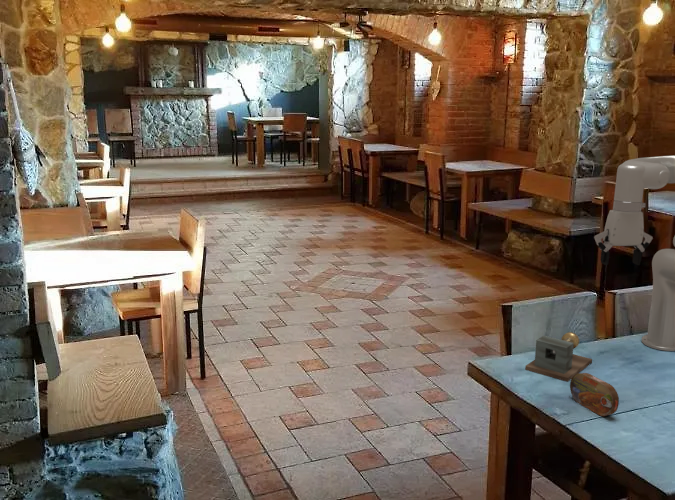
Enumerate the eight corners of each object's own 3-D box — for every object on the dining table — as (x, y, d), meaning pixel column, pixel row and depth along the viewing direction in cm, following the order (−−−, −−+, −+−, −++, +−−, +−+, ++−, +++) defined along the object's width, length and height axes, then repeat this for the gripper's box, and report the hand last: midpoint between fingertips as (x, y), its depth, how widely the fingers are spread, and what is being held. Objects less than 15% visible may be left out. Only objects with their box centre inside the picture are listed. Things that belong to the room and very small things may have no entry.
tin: (567, 397, 183) (570, 368, 181) (577, 395, 185) (579, 366, 183) (609, 422, 170) (613, 391, 168) (619, 419, 171) (622, 389, 169)
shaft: (562, 345, 210) (564, 330, 209) (578, 349, 207) (580, 334, 206) (544, 358, 201) (545, 342, 199) (560, 362, 197) (562, 346, 196)
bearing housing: (551, 351, 214) (553, 324, 212) (591, 362, 206) (594, 334, 204) (525, 369, 201) (527, 340, 199) (567, 381, 193) (570, 351, 191)
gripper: (648, 204, 200) (641, 261, 204) (592, 204, 199) (586, 261, 202) (662, 209, 193) (655, 267, 197) (604, 208, 191) (598, 267, 195)
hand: (620, 264), depth 200 cm, fingers open, 9 cm apart
